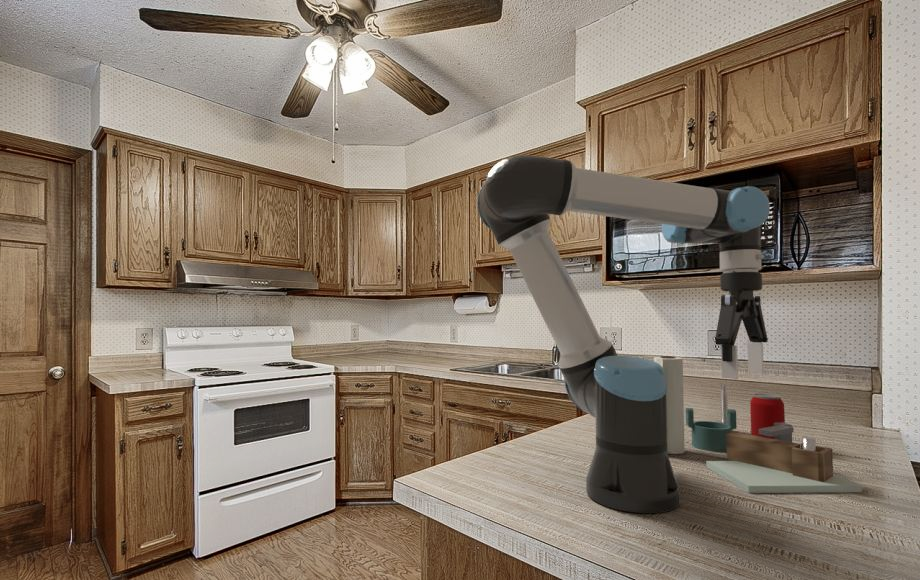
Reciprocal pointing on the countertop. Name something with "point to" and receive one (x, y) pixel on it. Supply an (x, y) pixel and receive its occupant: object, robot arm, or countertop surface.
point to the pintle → (808, 444)
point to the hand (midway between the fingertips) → (743, 375)
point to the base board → (776, 479)
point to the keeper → (778, 431)
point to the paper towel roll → (674, 402)
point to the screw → (723, 403)
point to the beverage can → (765, 412)
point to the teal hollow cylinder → (710, 431)
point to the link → (781, 456)
